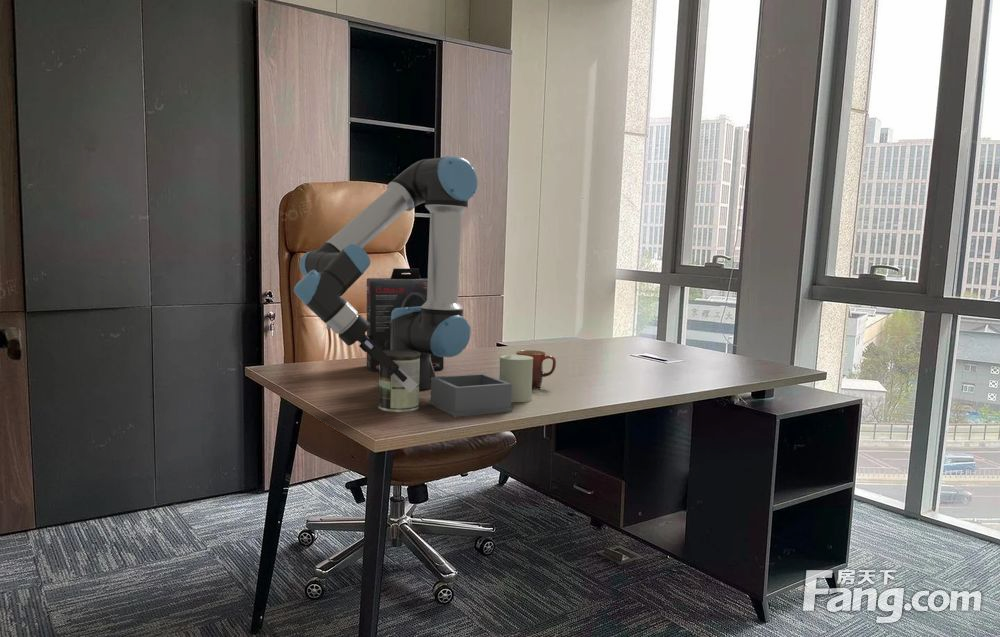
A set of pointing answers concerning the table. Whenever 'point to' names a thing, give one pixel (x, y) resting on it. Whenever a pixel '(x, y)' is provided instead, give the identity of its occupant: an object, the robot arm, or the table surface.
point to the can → (517, 376)
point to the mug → (538, 365)
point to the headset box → (393, 307)
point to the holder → (470, 394)
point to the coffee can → (391, 390)
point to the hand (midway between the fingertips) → (408, 383)
